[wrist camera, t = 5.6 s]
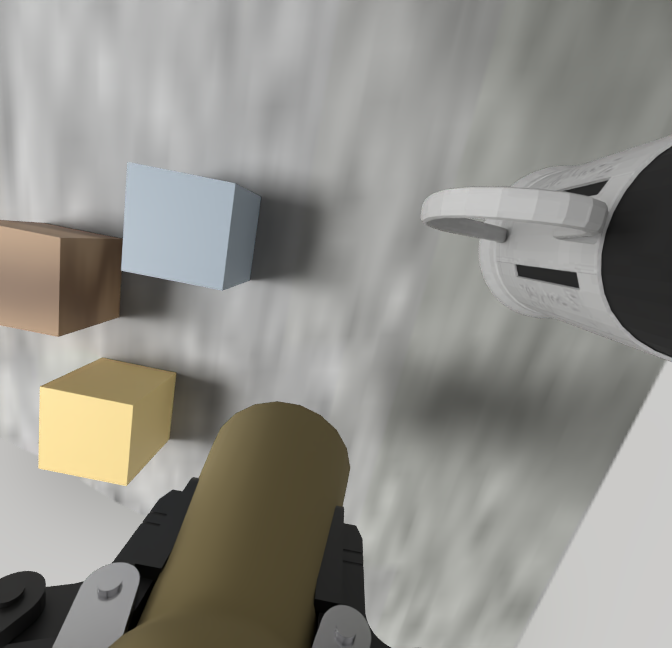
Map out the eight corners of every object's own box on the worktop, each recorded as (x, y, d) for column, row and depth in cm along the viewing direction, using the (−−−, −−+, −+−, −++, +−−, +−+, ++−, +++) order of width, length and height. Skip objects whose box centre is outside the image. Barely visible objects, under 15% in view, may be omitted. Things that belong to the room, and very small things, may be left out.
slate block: (178, 180, 21) (127, 161, 16) (261, 197, 21) (235, 183, 16) (171, 264, 22) (121, 270, 18) (250, 280, 22) (222, 290, 18)
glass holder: (606, 326, 22) (1107, 491, 8) (377, 297, 22) (428, 402, 8) (652, 175, 20) (1450, 0, 6) (400, 144, 20) (528, -108, 6)
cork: (350, 402, 15) (351, 836, 4) (349, 527, 16) (346, 1099, 5) (204, 400, 15) (-163, 804, 4) (215, 523, 16) (-41, 1062, 6)
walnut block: (44, 223, 22) (-43, 217, 17) (124, 239, 22) (60, 237, 17) (43, 301, 23) (-39, 317, 18) (119, 317, 23) (58, 336, 18)
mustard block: (102, 357, 24) (39, 386, 19) (176, 372, 24) (133, 405, 19) (98, 424, 25) (38, 468, 20) (169, 438, 25) (126, 485, 20)
